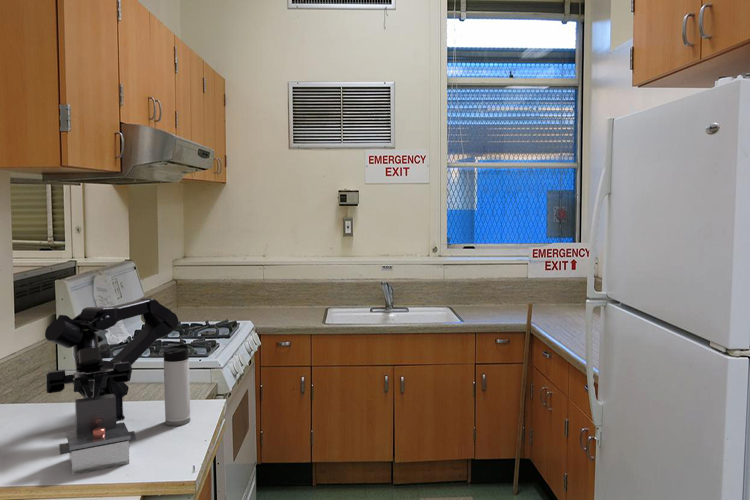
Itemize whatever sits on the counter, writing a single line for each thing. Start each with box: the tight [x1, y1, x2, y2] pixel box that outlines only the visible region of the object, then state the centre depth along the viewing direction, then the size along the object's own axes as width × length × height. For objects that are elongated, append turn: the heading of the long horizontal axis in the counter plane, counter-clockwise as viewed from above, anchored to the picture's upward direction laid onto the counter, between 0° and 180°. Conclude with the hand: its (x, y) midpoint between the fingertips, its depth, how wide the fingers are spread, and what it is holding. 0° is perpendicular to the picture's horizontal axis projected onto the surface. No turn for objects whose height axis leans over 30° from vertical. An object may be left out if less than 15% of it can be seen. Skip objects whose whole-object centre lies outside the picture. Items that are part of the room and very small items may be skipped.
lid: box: [66, 394, 131, 451], centre depth 128 cm, size 10×12×8 cm
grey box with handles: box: [58, 430, 137, 476], centre depth 128 cm, size 10×15×5 cm, turn 121°
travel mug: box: [163, 343, 191, 427], centre depth 153 cm, size 6×7×20 cm
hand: (93, 407), depth 138 cm, fingers closed
